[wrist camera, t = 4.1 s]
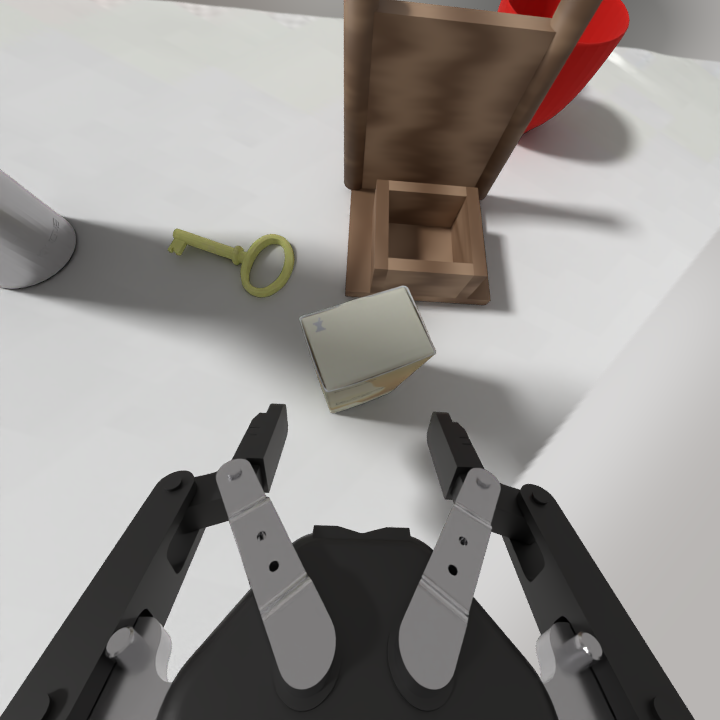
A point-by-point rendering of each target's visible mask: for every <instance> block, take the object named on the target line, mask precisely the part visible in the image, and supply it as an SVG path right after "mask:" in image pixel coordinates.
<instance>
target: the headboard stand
mask: <svg viewBox="0 0 720 720" xmlns="http://www.w3.org/2000/svg"><path fill="white" fill-rule="evenodd" d="M602 1H603V0H561V1H560V3H559V5H558V7H557V9H556V11H555V13H554V15H553V17H552V18H545V17H537V16H528V15H519V14H511V13H502V12H493V11H484V10H475V9H466V8H458V7H449V6H441V5H432V4H423V3H414V2H405V1H397V0H344V184H345V186H346V187H347V188H348V189H350V190H351V207H350V223H349V239H348V256H347V272H346V288H345V296H351V297H365V296H369V295H373V294H376V293H379V292H383V291H386V290H389V289H393V288H396V287H400V286H406V287H408V289H409V291H410V293H411V295H412V297H413V299H414V301H429V302H445V303H461V304H476V305H486V304H487V303H488V302H489V301H491V300H490V291H489V282H488V273H487V263H486V254H485V245H484V236H483V227H482V218H481V209H480V200H482V199H484V198H485V197H486V195H487V193H488V192H489V190H490V188H491V187H492V185H493V183H494V182H495V180H496V178H497V177H498V175H499V173H500V172H501V170H502V168H503V167H504V165H505V163H506V162H507V160H508V158H509V156H510V155H511V153H512V151H513V150H514V148H515V146H516V145H517V143H518V141H519V140H520V138H521V136H522V135H523V133H524V131H525V130H526V128H527V126H528V125H529V123H530V121H531V120H532V118H533V116H534V115H535V113H536V111H537V110H538V108H539V106H540V105H541V103H542V101H543V99H544V98H545V96H546V94H547V93H548V91H549V89H550V88H551V86H552V84H553V83H554V81H555V79H556V78H557V76H558V74H559V73H560V71H561V69H562V68H563V66H564V64H565V63H566V61H567V59H568V58H569V56H570V54H571V53H572V51H573V49H574V47H575V46H576V44H577V42H578V41H579V39H580V37H581V36H582V34H583V32H584V31H585V29H586V27H587V26H588V24H589V22H590V21H591V19H592V17H593V16H594V14H595V12H596V11H597V9H598V7H599V6H600V4H601V2H602Z"/></svg>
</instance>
